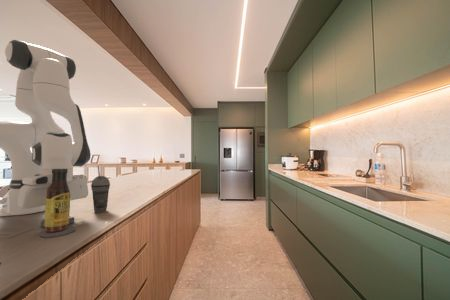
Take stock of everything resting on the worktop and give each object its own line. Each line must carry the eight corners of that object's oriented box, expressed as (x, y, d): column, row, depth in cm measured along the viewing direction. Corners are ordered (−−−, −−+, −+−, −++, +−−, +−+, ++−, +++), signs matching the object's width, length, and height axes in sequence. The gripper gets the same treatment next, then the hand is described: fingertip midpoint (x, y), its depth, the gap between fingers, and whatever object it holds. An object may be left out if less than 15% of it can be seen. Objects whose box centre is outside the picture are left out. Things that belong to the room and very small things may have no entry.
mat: (34, 234, 64) (34, 232, 64) (66, 225, 73) (66, 223, 73) (49, 239, 61) (49, 237, 61) (81, 229, 69) (81, 227, 69)
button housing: (40, 225, 72) (40, 219, 72) (63, 219, 79) (63, 214, 79) (51, 228, 69) (51, 222, 69) (74, 222, 76) (74, 217, 76)
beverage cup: (103, 214, 86) (104, 166, 87) (86, 213, 86) (87, 166, 87) (113, 209, 94) (113, 165, 94) (97, 209, 94) (97, 165, 94)
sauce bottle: (55, 234, 63) (56, 169, 64) (38, 232, 64) (40, 169, 65) (74, 226, 70) (75, 168, 70) (59, 225, 71) (60, 167, 71)
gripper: (82, 173, 85) (82, 207, 85) (15, 179, 67) (14, 222, 66) (92, 174, 82) (91, 209, 82) (25, 180, 64) (24, 225, 64)
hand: (56, 215), depth 74 cm, fingers closed
